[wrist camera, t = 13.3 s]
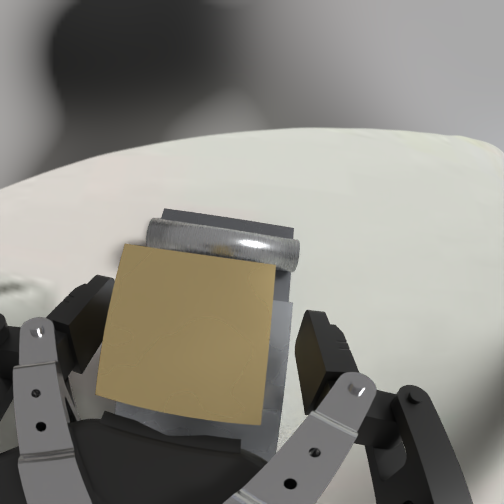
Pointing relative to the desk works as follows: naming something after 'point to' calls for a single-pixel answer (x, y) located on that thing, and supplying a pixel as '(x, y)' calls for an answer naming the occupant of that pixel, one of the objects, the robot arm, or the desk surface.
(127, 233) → the desk surface
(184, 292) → the pine wood offcut
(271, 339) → the upper end link
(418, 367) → the desk surface
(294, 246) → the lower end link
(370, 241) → the desk surface
